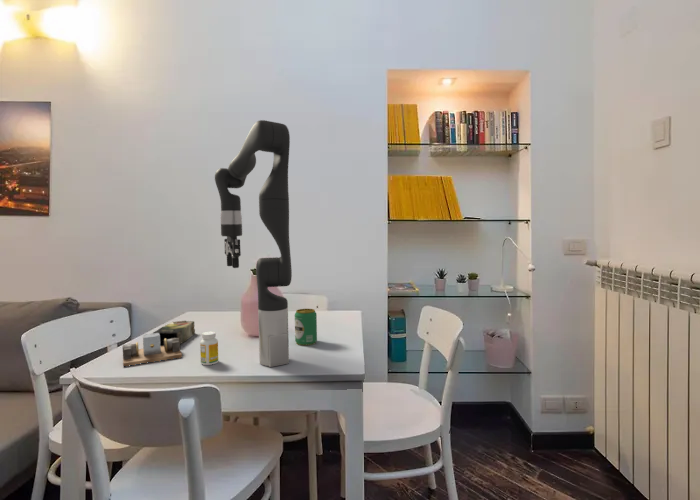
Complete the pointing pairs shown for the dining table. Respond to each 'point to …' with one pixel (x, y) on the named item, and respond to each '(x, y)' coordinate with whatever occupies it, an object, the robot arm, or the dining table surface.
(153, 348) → the block
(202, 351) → the supplement bottle
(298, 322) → the beverage can
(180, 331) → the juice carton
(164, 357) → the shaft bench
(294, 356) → the dining table surface
